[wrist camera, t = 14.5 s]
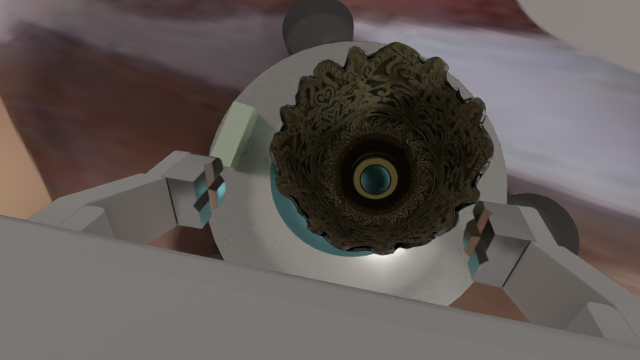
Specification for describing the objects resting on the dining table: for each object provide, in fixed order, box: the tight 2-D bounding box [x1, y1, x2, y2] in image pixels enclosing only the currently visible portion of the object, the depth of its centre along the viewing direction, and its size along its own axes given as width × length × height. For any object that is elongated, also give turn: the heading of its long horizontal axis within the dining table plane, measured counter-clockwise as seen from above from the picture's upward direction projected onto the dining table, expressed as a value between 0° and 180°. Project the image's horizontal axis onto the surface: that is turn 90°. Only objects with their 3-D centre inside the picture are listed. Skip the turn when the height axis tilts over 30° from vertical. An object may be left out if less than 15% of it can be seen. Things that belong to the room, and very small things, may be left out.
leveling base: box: [203, 0, 579, 306], centre depth 22 cm, size 24×22×6 cm
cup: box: [269, 42, 494, 255], centre depth 15 cm, size 8×7×8 cm
